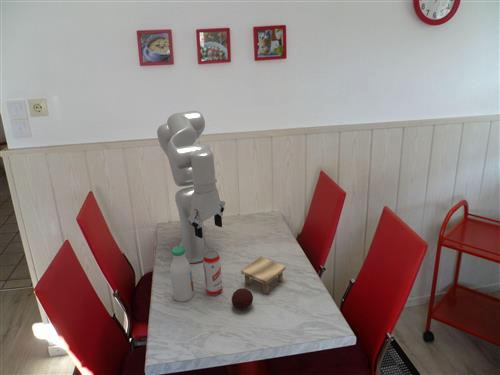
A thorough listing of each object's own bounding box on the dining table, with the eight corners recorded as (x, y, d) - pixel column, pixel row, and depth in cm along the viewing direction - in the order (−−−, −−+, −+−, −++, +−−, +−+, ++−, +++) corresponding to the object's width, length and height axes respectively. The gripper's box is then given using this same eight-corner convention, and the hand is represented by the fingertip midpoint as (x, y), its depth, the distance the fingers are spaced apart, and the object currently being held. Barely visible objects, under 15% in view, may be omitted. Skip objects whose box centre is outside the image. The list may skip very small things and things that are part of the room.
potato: (257, 307, 144) (256, 290, 142) (240, 317, 140) (239, 300, 137) (244, 297, 150) (243, 281, 147) (227, 306, 145) (226, 290, 143)
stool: (241, 284, 157) (241, 270, 155) (261, 270, 166) (260, 256, 163) (266, 296, 150) (266, 281, 147) (285, 280, 158) (285, 266, 156)
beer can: (226, 289, 155) (223, 252, 149) (216, 298, 150) (213, 260, 144) (212, 284, 158) (209, 248, 152) (202, 293, 153) (198, 256, 147)
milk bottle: (190, 303, 148) (184, 255, 140) (170, 301, 150) (163, 253, 142) (197, 290, 155) (191, 244, 147) (177, 288, 157) (171, 242, 149)
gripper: (214, 176, 147) (218, 219, 153) (177, 192, 135) (183, 238, 141) (230, 180, 142) (233, 224, 149) (193, 197, 130) (198, 244, 136)
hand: (209, 231), depth 145 cm, fingers open, 9 cm apart
